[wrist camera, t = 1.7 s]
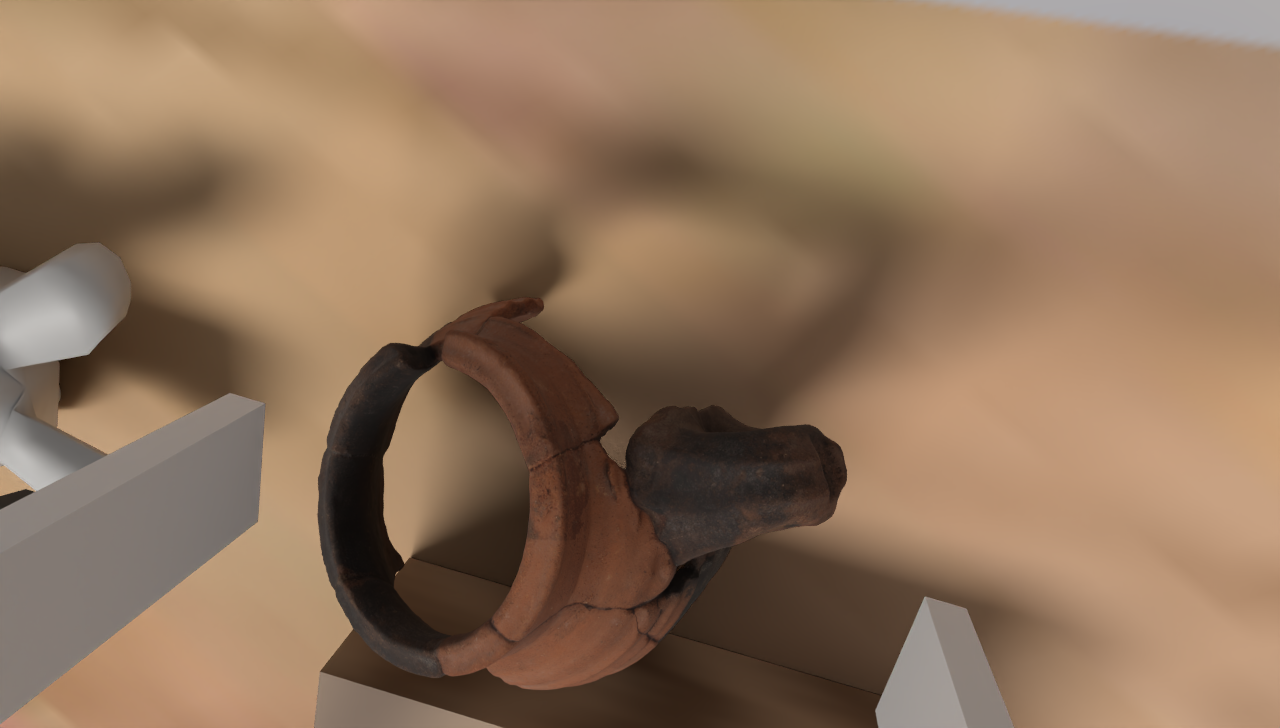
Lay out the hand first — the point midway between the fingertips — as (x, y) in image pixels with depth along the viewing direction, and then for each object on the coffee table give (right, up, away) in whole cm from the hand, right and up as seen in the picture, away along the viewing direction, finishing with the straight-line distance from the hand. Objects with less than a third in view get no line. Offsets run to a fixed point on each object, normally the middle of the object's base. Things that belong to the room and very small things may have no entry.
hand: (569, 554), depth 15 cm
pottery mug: (+1, +1, +7) cm, 7 cm away
